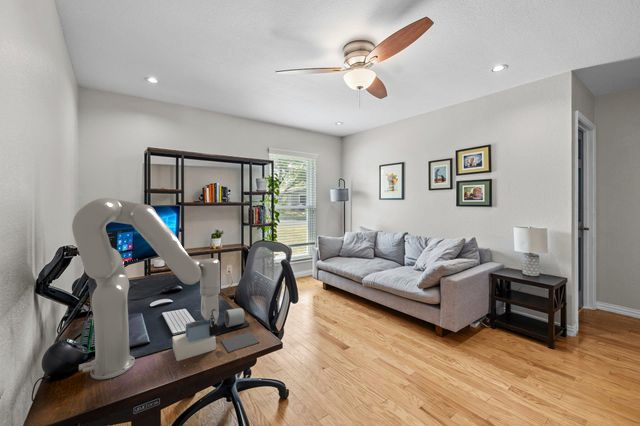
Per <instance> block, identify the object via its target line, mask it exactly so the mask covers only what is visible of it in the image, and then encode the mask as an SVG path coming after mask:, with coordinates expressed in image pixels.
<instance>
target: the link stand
mask: <svg viewBox="0 0 640 426" xmlns="http://www.w3.org/2000/svg"><path fill="white" fill-rule="evenodd" d="M191 322H192V327H196V322H195V321H191ZM216 338H217V337H216V335H214V336H210V337H207V338H203V339H199V340H196V341H192V342H188V337H186V332H185V333H182V334H178V335H174V336H172V350H173V354H174V358H175V359H176V362H180V361H182V360H185V359H189V358H193V357H196V356H198V355H203V354H206V353H209V352H212V351H215V350H216V349H217V347H216V346H217V343H216V341H217V340H216Z"/></svg>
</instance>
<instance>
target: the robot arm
mask: <svg viewBox="0 0 640 426" xmlns="http://www.w3.org/2000/svg"><path fill="white" fill-rule="evenodd" d="M110 223H119V224H125V225H131V226H132V227H133V228H134V229H135V230H136V231H137V232H138V234H140V236H141V237H142V238H143V239H144V240H145V242H146V243H148V245H149V246H150V247H151V248H152V249H153V250H154V252H155V253H156V254H157V255H158V256H159V258H160V259H162V261H163V263H165V264H166V266H167V267H168V268H169V269H170V270H171V272H172V273H173V274H174V275H175V276H176V277H177V278H178V279H179V281H180V282H182V283H183V284H185V285H189V286H191V285H194V284H196V283H198V282H199V293H200V296H201V298H200V314H201V316H202V318H203V319H205V320H206V321H208V320H209V321H210V326H209V335H210V336H213V335H214V336H217V335H219V316H220V314H219V311H220V310H219V309H220V308H219V305H220V304H219V294H220V293H221V269H220V268H221V266H220V265H221V263H220V260H219V259H217V258H212V257H211V258H205V259H204V258H203V259H192V257H191V256H190V255H189V254H188V253H187V251H186V250H185V249H184V247H183V246H182V244H181V242H180V240H179V239H178V237H177V235H176V234H175V233H174V232H173V231H172V229H171V228H169V226H168V225H167V224H166V223H165V221H164V220H163V219H162V218H161V216H159V214H158V213H157V212H156V210H155V208H154V207H152V206H151V205H149V204H144V203H137V202H133V201H132V202H131V201H127V200H126V201H125V200H121V199H118V198H111V197H103V198H96V199H94V200H91V201H90V202H88V203H87V204H85V205H84V206H82V207H80V209H79V210H78V211H77V212H76V213H75V215H74V217H73V219H72V224H71V225H72V227H71V229H72V234H73V237H74V240H75V241H74V242H75V244H76V247H77V251H78V254H79V257H80V259H81V263H82V266H83V270H84V272H85V274H86V275H87V276H88V277H89V278H91V279H94V280H95V283H96V288H95V289H94V291H93V293H92V296H91V309H92V314H93V327H94V329H93V330H94V351H95V352H94V353H95V357H94V359H92V360H91V361H89V362H88V361H87V362H84V363H81V364H78V371H82V373H87V372H90V373H89V375H90V377H91V378H92V379H95V380H107V379H112V378H116V377H119V376H120V375H122V374H124V373H126V372H128V371H129V370H130V369H132V368H133V366H134V365H135V363H136V359H135V357H134V356H133V355H131V354H130V332H129V331H130V330H129V325H130V324H129V311H128V310H129V309H128V293H129V289H130V281H129V278H128V277H129V276H128V273H127V270H126V267H125V265H124V261H123V258H122V256H121V254H120V252H119V251H118V250H117V249H115V248H114V247H112V245H111V242H110V238H109V235H108V232H107V225H108V224H110ZM212 317H213V318H212ZM203 319H202V320H203ZM211 320H214V321H213V322H212V321H211Z"/></svg>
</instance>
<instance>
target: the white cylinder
mask: <svg viewBox="0 0 640 426" xmlns="http://www.w3.org/2000/svg"><path fill="white" fill-rule="evenodd" d="M223 317H224V324H225V327H226V328H230V327H235V326H239V325H242V324H243V323H245V321H246V313H245V310H244V309H243V308H242V307H239V308H232V309H226V310H225V311H224V316H223Z"/></svg>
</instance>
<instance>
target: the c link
mask: <svg viewBox="0 0 640 426" xmlns="http://www.w3.org/2000/svg"><path fill="white" fill-rule="evenodd" d="M212 318H213V317H212ZM211 321H212V322H213V321H214V320H211ZM192 322H193V321H191V322H187V323H185V333H186V337H188V342H192V341H196V340H199V339H203V338H207V337H210V335H209V326H210V321H209V320H208V321H206V320H205V319H200V320H195V321H194V322H196V327H192ZM213 336H215V335H213Z"/></svg>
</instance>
